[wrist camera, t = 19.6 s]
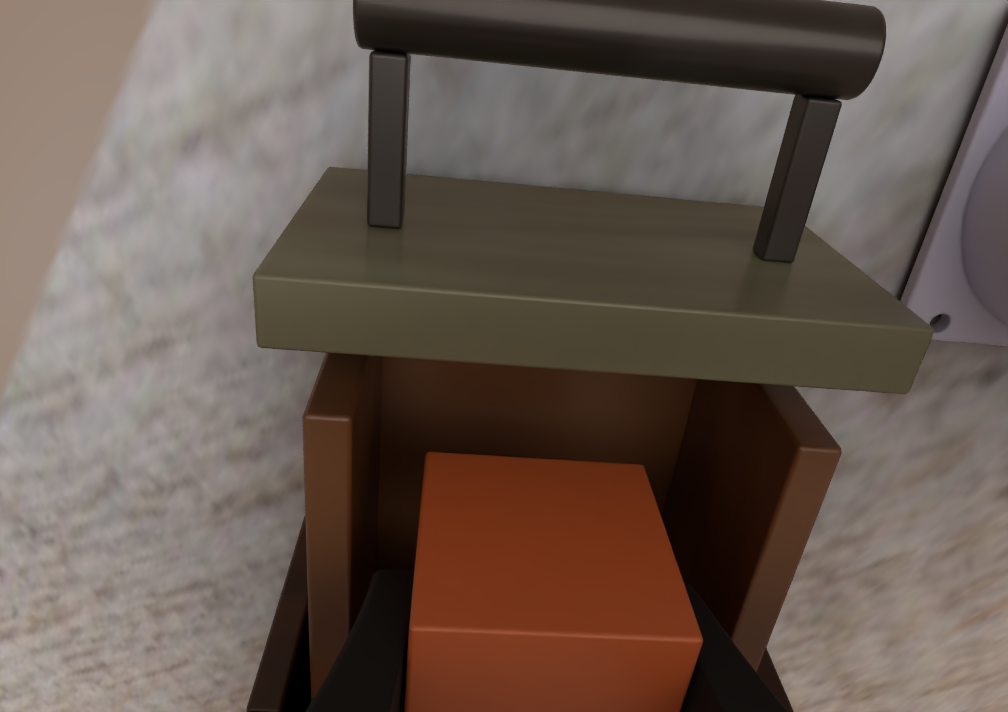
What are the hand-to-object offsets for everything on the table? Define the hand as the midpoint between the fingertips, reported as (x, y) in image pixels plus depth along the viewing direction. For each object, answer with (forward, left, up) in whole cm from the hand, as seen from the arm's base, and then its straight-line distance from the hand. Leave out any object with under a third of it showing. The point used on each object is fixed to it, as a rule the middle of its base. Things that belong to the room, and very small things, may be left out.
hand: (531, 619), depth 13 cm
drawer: (-1, -2, -7) cm, 7 cm away
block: (0, 0, -2) cm, 2 cm away
